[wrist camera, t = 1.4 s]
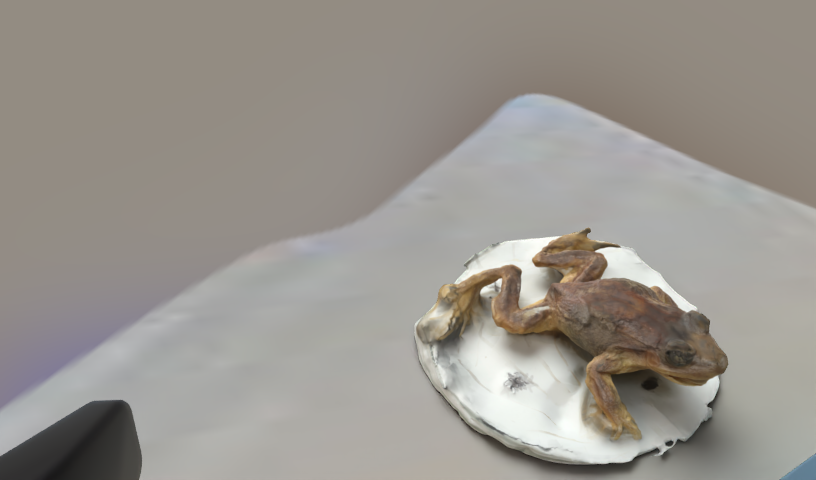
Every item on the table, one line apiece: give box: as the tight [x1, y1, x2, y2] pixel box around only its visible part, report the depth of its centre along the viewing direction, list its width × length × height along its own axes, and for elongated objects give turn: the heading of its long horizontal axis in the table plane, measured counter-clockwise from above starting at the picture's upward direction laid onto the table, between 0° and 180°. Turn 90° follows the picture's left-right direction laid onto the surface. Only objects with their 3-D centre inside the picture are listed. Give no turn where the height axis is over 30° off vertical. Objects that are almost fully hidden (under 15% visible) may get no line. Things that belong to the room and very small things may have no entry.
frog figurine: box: [414, 228, 728, 465], centre depth 26 cm, size 12×12×4 cm
